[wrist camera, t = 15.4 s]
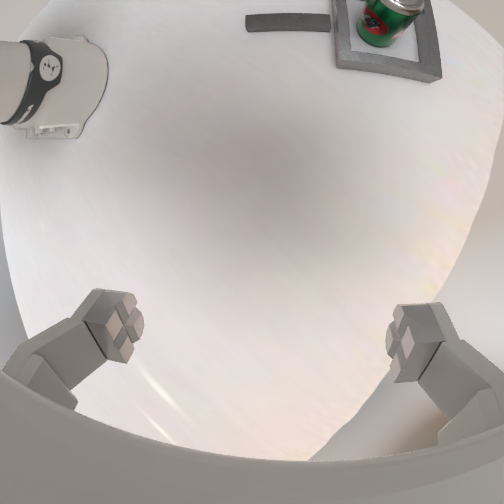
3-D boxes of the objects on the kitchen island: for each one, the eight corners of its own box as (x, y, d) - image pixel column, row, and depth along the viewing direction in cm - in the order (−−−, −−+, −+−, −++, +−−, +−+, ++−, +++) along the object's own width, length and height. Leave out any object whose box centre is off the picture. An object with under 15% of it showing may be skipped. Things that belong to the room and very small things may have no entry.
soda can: (391, 54, 25) (426, 21, 14) (353, 40, 25) (371, -2, 14) (397, 24, 22) (428, -15, 12) (359, 10, 23) (377, -36, 12)
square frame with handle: (248, 66, 29) (241, 58, 25) (247, -9, 24) (241, -23, 21) (429, 83, 25) (442, 78, 21) (418, 6, 20) (428, -5, 17)
